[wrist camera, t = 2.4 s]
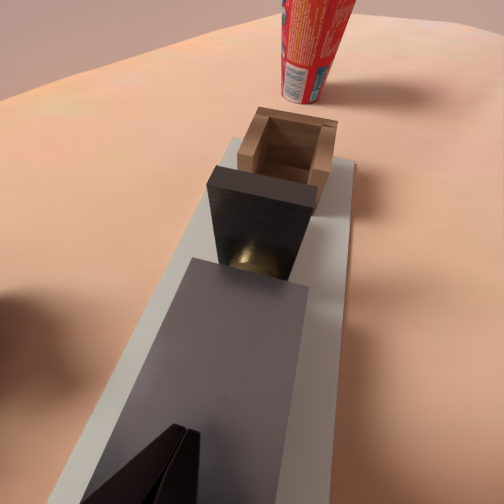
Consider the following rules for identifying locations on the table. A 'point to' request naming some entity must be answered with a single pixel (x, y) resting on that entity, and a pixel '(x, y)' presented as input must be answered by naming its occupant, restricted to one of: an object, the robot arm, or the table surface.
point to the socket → (289, 148)
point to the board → (309, 359)
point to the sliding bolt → (258, 220)
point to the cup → (310, 45)
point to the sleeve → (218, 381)
